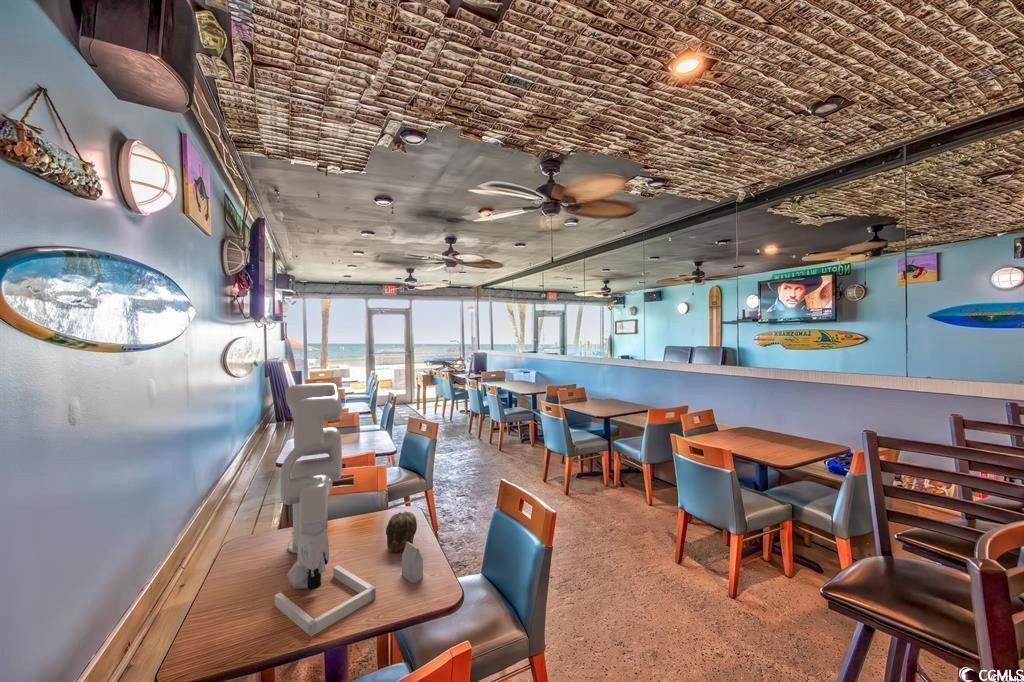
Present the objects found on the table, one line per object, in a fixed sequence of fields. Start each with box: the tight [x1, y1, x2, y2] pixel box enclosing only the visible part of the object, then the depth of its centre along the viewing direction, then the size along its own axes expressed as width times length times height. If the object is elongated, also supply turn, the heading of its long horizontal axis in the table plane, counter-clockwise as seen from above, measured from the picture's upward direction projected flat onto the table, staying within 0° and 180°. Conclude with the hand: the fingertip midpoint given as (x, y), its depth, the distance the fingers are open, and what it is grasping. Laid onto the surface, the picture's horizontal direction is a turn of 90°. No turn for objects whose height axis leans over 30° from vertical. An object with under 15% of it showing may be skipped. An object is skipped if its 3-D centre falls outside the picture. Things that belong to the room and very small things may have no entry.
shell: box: [385, 511, 418, 554], centre depth 147 cm, size 11×11×12 cm
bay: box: [274, 564, 377, 637], centre depth 116 cm, size 20×19×3 cm
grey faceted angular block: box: [401, 541, 424, 584], centre depth 129 cm, size 4×7×10 cm, turn 44°
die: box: [286, 559, 308, 590], centre depth 124 cm, size 8×9×10 cm
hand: (314, 587), depth 119 cm, fingers closed
